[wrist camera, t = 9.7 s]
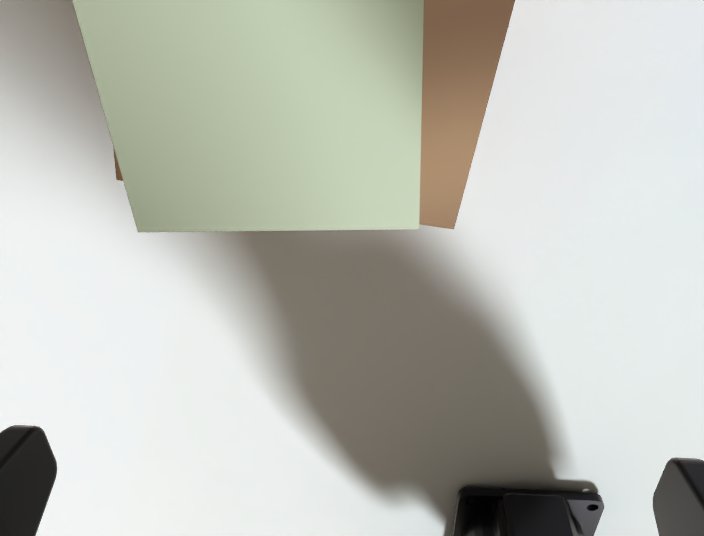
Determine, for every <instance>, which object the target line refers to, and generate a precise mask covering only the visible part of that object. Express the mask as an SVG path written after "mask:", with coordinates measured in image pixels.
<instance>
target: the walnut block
mask: <svg viewBox="0 0 704 536" xmlns="http://www.w3.org/2000/svg"><path fill="white" fill-rule="evenodd" d="M514 2H515V0H424V18H423V67H422V116H421V165H420V215H419V224H422V225H428V226H435V227H442V228H449V229H454V227H455V223H456V219H457V215H458V212H459V208H460V204H461V201H462V197H463V193H464V189H465V186H466V182H467V178H468V174H469V171H470V167H471V163H472V159H473V156H474V152H475V148H476V144H477V141H478V137H479V133H480V129H481V126H482V122H483V118H484V114H485V111H486V107H487V103H488V100H489V96H490V92H491V88H492V85H493V81H494V77H495V73H496V70H497V66H498V62H499V58H500V55H501V51H502V47H503V43H504V40H505V36H506V32H507V28H508V25H509V21H510V17H511V14H512V10H513V6H514ZM113 147H114V146H113ZM114 158H115V168H116V178H117V180H121V181H123V178H122V174H121V171H120V167H119V164H118V160H117V157H116V153H115V149H114Z"/></svg>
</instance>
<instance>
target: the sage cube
mask: <svg viewBox="0 0 704 536" xmlns="http://www.w3.org/2000/svg"><path fill="white" fill-rule="evenodd" d="M72 1H73V5H74V8H75V12H76V15H77V19H78V22H79V26H80V29H81V33H82V36H83V40H84V44H85V47H86V51H87V54H88V58H89V61H90V65H91V68H92V72H93V75H94V79H95V82H96V86H97V89H98V93H99V96H100V100H101V104H102V107H103V111H104V114H105V118H106V121H107V125H108V128H109V132H110V135H111V139H112V142H113V146H114V149H115V153H116V157H117V160H118V164H119V167H120V171H121V174H122V178H123V181H124V185H125V188H126V192H127V195H128V199H129V202H130V206H131V209H132V213H133V217H134V220H135V224H136V227H137V231H138V232H212V231H307V230H403V229H419V215H420V165H421V116H422V67H423V18H424V0H72Z"/></svg>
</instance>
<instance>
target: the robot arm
mask: <svg viewBox="0 0 704 536" xmlns="http://www.w3.org/2000/svg"><path fill="white" fill-rule="evenodd" d="M56 474H57V463H56V459H55V457H54V455H53V452H52V450H51V447H50V445H49V442H48V440H47V437H46V435H45V432H44V431H43V430H42V429H41V428H40V427H38V426H25V425H14V426H11V427H8V428H7V429H5V430H3V431H2V432H1V433H0V536H36V533H37V530H38V527H39V524H40V521H41V519H42V516H43V513H44V510H45V507H46V504H47V502H48V499H49V496H50V493H51V490H52V487H53V485H54V482H55V479H56ZM603 509H604V504H603V501H602V498H601V496H600V495H598V494H595V493H581V492H560V491H538V490H516V489H494V488H473V487H468V488H463V489H461V490H460V491H459V492H458V496H457V503H456V510H455V516H454V523H453V529H452V536H594V533H595V530H596V528H597V525H598V522H599V520H600V517H601V515H602V512H603ZM653 510H654V515H655V519H656V523H657V528H658V532H659V536H704V461H703V460H700V459H694V458H672V459H670V460H669V461H668V462H667V464H666V466H665V469H664V471H663V473H662V476H661V478H660V480H659V483H658V485H657V488H656V490H655V492H654V496H653Z"/></svg>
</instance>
